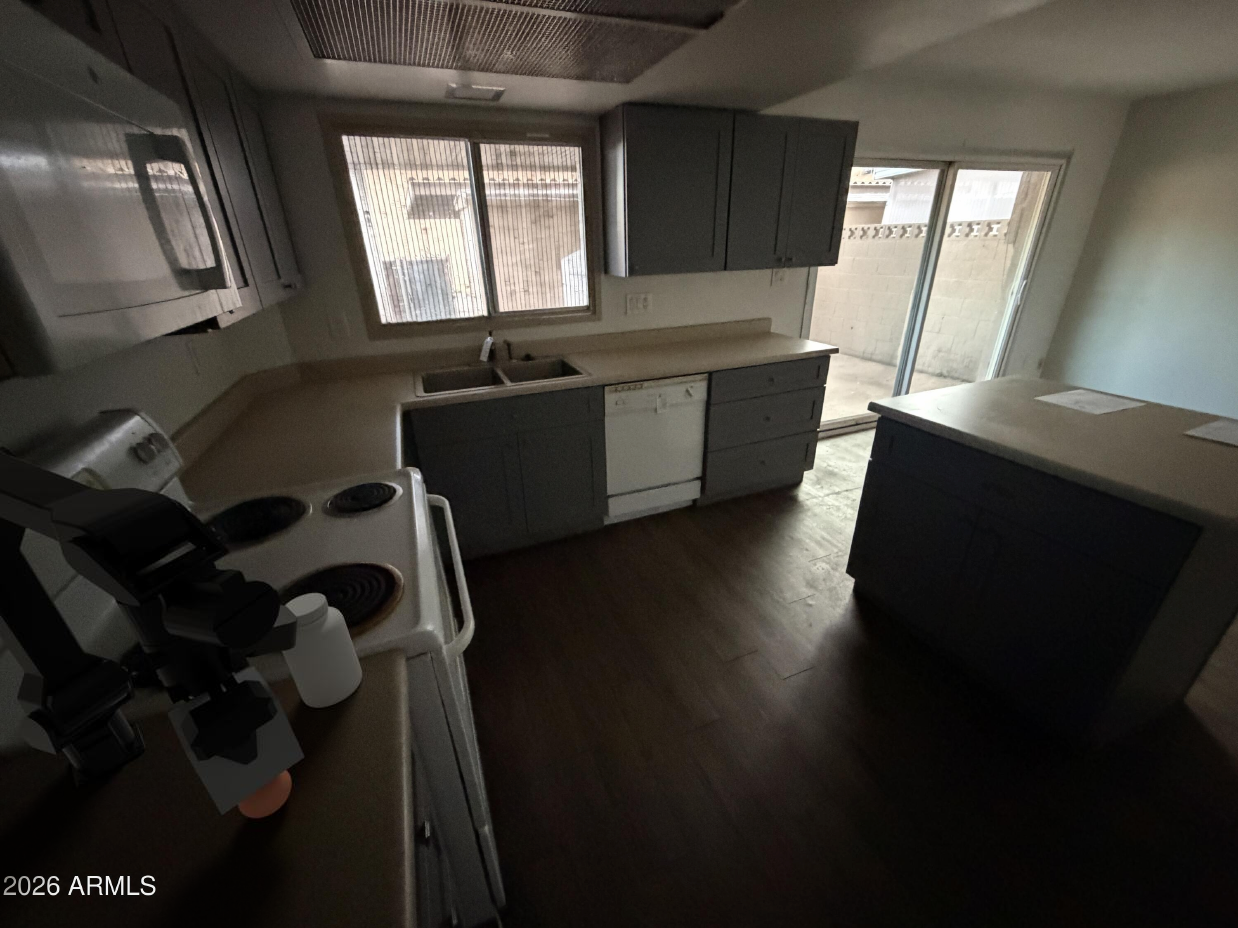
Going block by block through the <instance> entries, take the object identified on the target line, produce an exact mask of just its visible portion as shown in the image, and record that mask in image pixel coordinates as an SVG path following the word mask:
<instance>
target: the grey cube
mask: <svg viewBox="0 0 1238 928" xmlns="http://www.w3.org/2000/svg"><path fill="white" fill-rule="evenodd" d="M233 676H234V677H235V679H236V680H237V682H238V683H240V682H242V681H244V680H254V681H260V683H261V684H262V685H263V687H264V688H265V689H266V691H267V692H268V694H269V695H270V696H271V698H272V700H273V702H274V704H275V706H276V709H277V711H278V712H277V714H276V715H275V717H274V719H272V720H271V721H269V722H267V723H266V724H264V725H263V726H261V727H259V728H258V729H256V735H257V753H258V757H257V758H256V759H255V760H254V761H252V762H251V763H249V764H248V765H243V764H240V763H237V762H234V761H231V760H228V759H225V758H222V757H219V756H213V757H212V758H210V759H209V760H203V761H198V759H197V758H196V756H195V754H194V753H193V751H192V749H191V747H190V746H189V743H188V741H187V739H186V737H185V735H184V733H183V731H182V729H181V727H180V725H181V724H182V722H183V720H184V719H185V717H186V715H187V714H188V712H189V711H190V710H192V709H194V708H196V707H198V706H199V705H201V704H203V703H205V702H207V701H208V700H210V697H209V695H208V693H207V692H206V693H203V694H201V695H199V696H197V697H196V698H194V699H192V700H190V701H188V702H185V703H183V704H181V705H179V706H177V707H176V708H174V709H172V710H171V711H170V710H169V712H167V715H168V717H169V720H170V722H171V725H172V726H173V728H174V731H175V733H176V735H177V737H178V740H179V741H180V744H181V746H182V748H183V751H184V752H185V755H186V756H187V758H188V759H189V761H190V764H191V765H192V767H193V768H194V771H195V772H196V773H197V775H198V777H199V779H200V780H201V782H202V783H203V785H204V787H205V789H206V791H207V792H208V794H209V795H210V797H211V799H212V800H213V802H214V804H215V805H216V807H217V809H218V811H219V812H220V813H221V816H223V815H224V814H225V813H227V812H229V811H230V810H231V809H233V808H234V807H235V806H238V803H240V802H241V801H243V800H244V799H246V798H247V797H248V796H250V795H251V794H253V793H254V792H256V791H257V790H258V789H260V788H261V787H263V786H264V785H265V784H267V783H268V782H270V781H271V780H273V779H274V778H275V777H277V776H278V775H280V774H281V773H282V772H284V771H285V770H287V771H288V769H289V768H291V767H292V766H294V765H295V764H297V763H298V762H300V761H301V760H303V759H304V758H305V755H304V753H303V751H302V748H301V746H300V743H299V741H298V739H297V737H296V735H295V733H294V731H293V729H292V726H291V724H290V722H289V720H288V717H287V716H286V713H285V711H284V708H283V706H282V704H281V702H280V700H279V698H278V697H277V695H276V694H275V692H273V690H272V689H271V687H270V686H269V684H268V683H267V682H266V681H265V679H264V678H263V677H262V675H261V674H260V673H259V672H258V670H257V669H256V667H255V666H254V665H253V666H249V667H248V668H246V669H244V670H242V671H240V672H238V673H237V674H236V675H233ZM220 686H221V688H222V690H223V691H226V689H225V687H224V686H223V684H220Z"/></svg>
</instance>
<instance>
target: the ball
mask: <svg viewBox="0 0 1238 928" xmlns="http://www.w3.org/2000/svg"><path fill="white" fill-rule="evenodd" d="M291 789H292V776H291V775H290V772H288V769H287V770H285V771H284V772H282V773H281V774H280V775H278V776H277V777H275V778H274V779H273V780H271V781H270V782H268V783H267V784H265V785H264V786H263V787H261V788H260V789H258V790H257V791H256V792H254V793H253V794H251V795H250V796H248V797H247V798H246V799H244V800H243V801H241V802H240V803H238V804H237V806H238V809H239V811H240V812H241V813H242V815H244V816H245V817H247V818H251V819H262V818H264V817H268V816H270V815H271V814H274V813H275V812H276V811H277V810H280V808H281V807H283V805H284V804H285V802H286V801H287V799H288V798H289V795H290V793H291Z"/></svg>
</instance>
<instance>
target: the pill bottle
mask: <svg viewBox="0 0 1238 928" xmlns="http://www.w3.org/2000/svg"><path fill="white" fill-rule="evenodd" d="M284 606H286V607H288V608H289V609H290V610H291V611H292V612H293V613H294V614H295V615H296V616H297V618H298V621H297V634H296V645H295V647H293V648H292V649H289V650H286V651H282V650H281V652H282V655H283V656H284V659H285V661H286V663H287V666H288V669H289V671H290V673H291V676H292V679H293V681H294V683H295V685H296V688H297V690H298V693H299V694H300V697H301V699H302V701H303V703H304V704H305V705H307V706H309V707H310V708H319V709H320V708H326V707H329V706H333V705H336V704H337V703H340V702H342V701H343V700H345V699H346V698H348V697H349V696H351V694H353V693H354V692H355V691H356V690H357V688H358V687H359V685H360V684H361V682H362V678H363V671H362V668H361V664H360V662H359V661H360V660H359V659H358V656H357V655H358V654H357V652H356V650H355V647H354V644H353V641H352V638H351V636H350V633H349V629H348V626H347V624H346V621H345V618H344V615H343V614H342V612H340V610H339V609H338V608H335V607H333V606H329V604H328V600H327V598H326V596H325V595H324V594H322V593H319V592H312V593H311V592H310V593H306V594H303V595H299V596H297V597H295V598H294V599H292V600H290V601H289V602H287V603H286V604H285V605H284Z"/></svg>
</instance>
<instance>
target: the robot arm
mask: <svg viewBox="0 0 1238 928" xmlns="http://www.w3.org/2000/svg"><path fill="white" fill-rule="evenodd" d="M17 457H18V456H16V455H15V454H14V453H13V452H12V451H11V450H10V449H8V448H6V447H4V446H3V445H0V639H1V641H3V643H4V645H5V646H6V648H7V649H8V650H9V652H10V653H11V654H12V656H13V658H15V661H17V663H18V665H19V666H20V667H21V669H22V670H23V672H24V673H23V676H22V679H21V683H20V685H19V689H18V693H17V696H16V701H17V703H18V704H19V706H21V708H22V711H23V712H24V714H25V715H24V716H23V718H22V720H21V721H22V722H21V725H20V730H19V736H20V737H21V738H22V740H24V741H25V742H26V743H27V744H28V746H30V747H32V748H34V749H36V750H40V751H43V752H46V753H50V754H53V755H54V756H55V755H56V756H57V755H58V754H60V753H61V752H63V753H64V754H65V755H66V757H67V758H68V759H69V760H70V766H71V771H72V775H73V780H74V784H75V785H74V786H76V787H77V788H81V787H83V786H85V785H87V784H88V783H90V782H92V781H93V780H95V779H97V778H98V777H100V776H102V775H104V774H106V773H107V772H109V771H111V770H113V769H115V768H116V767H117V766H120V765H122V764H123V763H125V762H126V761H129V760H130V759H132V758H134V757H135V756H137V755H139V754H141V753H142V752H144V751H145V749H146V747H147V746H146V745H145V742H144V740H143V737H142V734H141V732H140V729H139V726H138V724H137V723H136V722H131V723H128V721H127V719H126V718H125V716H124V714H123V713H122V711H121V710H120V708H122V707H123V706H125V705H126V704H127V703H129V702H131V701H133V700H134V699H136V696H137V695H136V694H135V688H134V683H133V681H132V677H131V674H130V672H129V671H128V668H127V666H121V665H119V663H118V662H117V661H115V660H113V659H110V658H106V657H103V656H101V655H100V656H99V655H96V654H93V653H89V652H86V651H85V650H84V648H83V647H82V644H81V643H80V642H79V640H78V639H77V637H76V636H75V634H74V631H72V629H71V627H70V625H69V624H68V623H67V620H65V618H64V616H63V615H62V613H61V612H60V610H59V608H58V607H57V605H56V603H55V602H54V601H53V599H52V597H51V595H50V593H49V592H48V591H47V589H46V586H44V584H43V583H42V581H41V580H40V577H38V575H37V573H36V571H35V570H34V568H33V567H32V565H31V563H30V562H29V560H28V558H27V557H26V556H25V554H24V552H23V551H22V546H23V543H24V540H25V537H26V533H27V529H28V530H31V531H33V532H36V533H38V534H40V535H42V536H44V537H46V538H47V537H48V538H50V539H52V540H54V541H56V542H58V545H59V546H60V550H61V554H62V556H63V558H64V560H65V562H66V564H68V565H69V567H70V568H72V570H73V571H75V572H76V573H77V574H79V575H80V576H81V577H83V578H84V579H85V580H87V581H88V582H90V583H91V584H94V586H96V587H98V588H100V589H101V590H102V591H104V592H105V593H107V594H108V595H110V596H111V597H112V598H113V599H114V600H115V603H116V604H117V606H118V608H119V610H120V611H121V613H122V615H123V617H124V618H125V620H126V622H127V624H128V626H129V627H130V629H131V630H132V632H133V634H134V635H135V638H136V640H137V641H138V643H139V645H140V646H141V648H142V650H143V652H144V653H145V656H146V658H147V660H148V662H149V663H150V666H151V667H152V669H153V671H154V673H155V674H156V676H157V678H158V679H159V680H160V681H161V683H162V685H163V687H164V689H165V690H166V693H167V695H168V697H169V699H170V700H171V702H172V703H173V705H175V704H177V703H179V702H180V701H183V702H185V703H186V702H188V701H190V700H192V699H194V698H196V697H197V696H199V695H201V694H203V693H206V692H207V693H208V695H209V697H210V700H208V701H207V702H205V703H203V704H201V705H199V706H198V707H196V708H194V709H192V710H190V711H189V712H188V714H187V715H186V717H185V719H184V720H183V722H182V724H181V725H180V727H181V729H182V731H183V733H184V735H185V737H186V739H187V741H188V743H189V746H190V747H191V749H192V751H193V753H194V754H195V756H196V758H197V759H198V761H203V760H209V759H210V758H212V757H213V756H219V757H222V758H225V759H228V760H231V761H234V762H237V763H240V764H243V765H248V764H249V763H251V762H252V761H254V760H255V759H256V758H257V757H258V753H257V735H256V729H258V728H259V727H261V726H263V725H264V724H266V723H267V722H269V721H271V720H272V719H274V717H275V715H276V714H277V712H278V711H277V709H276V706H275V704H274V702H273V700H272V698H271V696H270V695H269V694H268V692H267V691H266V689H265V688H264V687H263V685H262V684H261V683H260V681H254V680H244V681H242V682H240V683H238V682H237V680H236V679H235V677H234V676H235V675H233V673H234V674H239V673H241V672H242V671H244V670H246V669H248V668H250V667H251V666H250V663H249V661H248V659H247V658H250V659H252V658H257V657H261V656H264V655H267V654H272V653H275V652H278V651H281V652H282V651H286V650H289V649H292V648H293V647H295V645H296V634H297V621H298V618H297V616H296V615H295V614H294V613H293V612H292V611H291V610H290V609H289V608H288V607H286V606H285V605H281V599H280V598H281V597H280V595H279V592H278V590H277V589H276V588H274V587H273V586H272V585H271V584H270V583H267V582H265V581H263V580H262V581H261V580H257V579H256V580H255V579H251V578H246V577H245V575H244V573H243V572H242V571H241V570H240V569H239V570H238V569H235V568H233V569H231V568H228V569H219V568H217V566H216V563H215V562H217V561H219V560H221V559H222V558H225V557H226V556H228V555H229V554H230V550H229V548H228V547H227V546H226V545H224V543H223V542H221V540H220V538H221V535H220V534H219V533H218V532H217V531H215V530H214V529H213V528H211V527H210V526H209V525H208V524H207V523H206V522H204V521H203V520H201V519H200V518H199V517H198V516H196V515H195V514H194V513H193V512H192V511H190V510H189V509H188V508H187V507H186V506H185V505H184V504H183V503H181V502H180V501H178V500H177V499H174V498H171V497H169V496H168V495H166V494H163V493H160V492H157V491H152V490H147V489H143V488H136V487H124V488H121V487H120V488H111V489H110V488H107V489H100V488H95V487H92V486H90V485H87V484H85V483H82V482H79V481H76V480H74V479H72V478H69V477H67V476H64V475H61V474H59V473H56V472H54V471H51V470H48V469H46V468H43V467H40V466H38V465H35V464H33V463H30V462H27V461H25V460H23V459H20V458H17ZM189 544H191V545H193V546H195V547H194V548H192V549H190V550H188V551H186V552H184V553H182V554H180V555H178V556H177V557H176V558H173V559H171V560H170V561H164V560H163V559H165V558H167V557H169V556H170V555H174V553H176V552H178V551H180V550H182V549H184V548H186V547H187V546H188V545H189ZM220 684H223V686H224V687H225V689H226V691H223V690H222V688H221V686H220Z"/></svg>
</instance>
